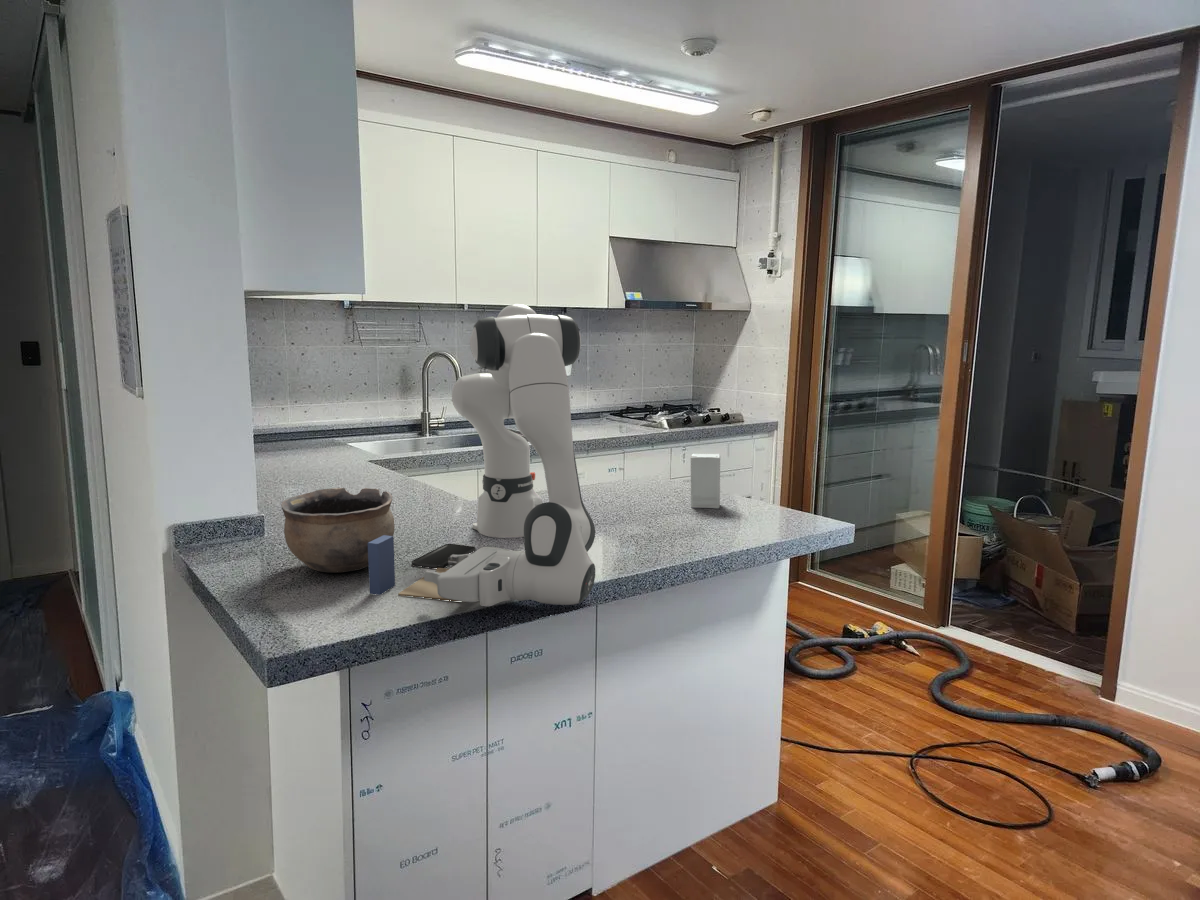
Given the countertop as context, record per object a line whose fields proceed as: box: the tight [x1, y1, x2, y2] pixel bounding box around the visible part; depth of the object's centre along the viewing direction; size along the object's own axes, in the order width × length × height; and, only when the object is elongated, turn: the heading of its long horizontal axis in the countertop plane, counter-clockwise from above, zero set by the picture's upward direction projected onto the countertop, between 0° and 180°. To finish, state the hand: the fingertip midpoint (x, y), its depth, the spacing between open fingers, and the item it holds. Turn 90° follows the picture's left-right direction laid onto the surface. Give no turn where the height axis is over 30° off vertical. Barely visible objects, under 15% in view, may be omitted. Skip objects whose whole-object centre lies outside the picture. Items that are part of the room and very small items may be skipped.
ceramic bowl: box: [280, 487, 396, 573], centre depth 159 cm, size 22×22×15 cm
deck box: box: [368, 535, 396, 596], centre depth 147 cm, size 6×2×10 cm, turn 164°
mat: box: [397, 567, 457, 602], centre depth 150 cm, size 16×13×1 cm
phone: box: [411, 543, 476, 569], centre depth 168 cm, size 8×1×15 cm
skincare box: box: [690, 453, 721, 509], centre depth 216 cm, size 8×6×15 cm
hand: (438, 567), depth 144 cm, fingers open, 8 cm apart
